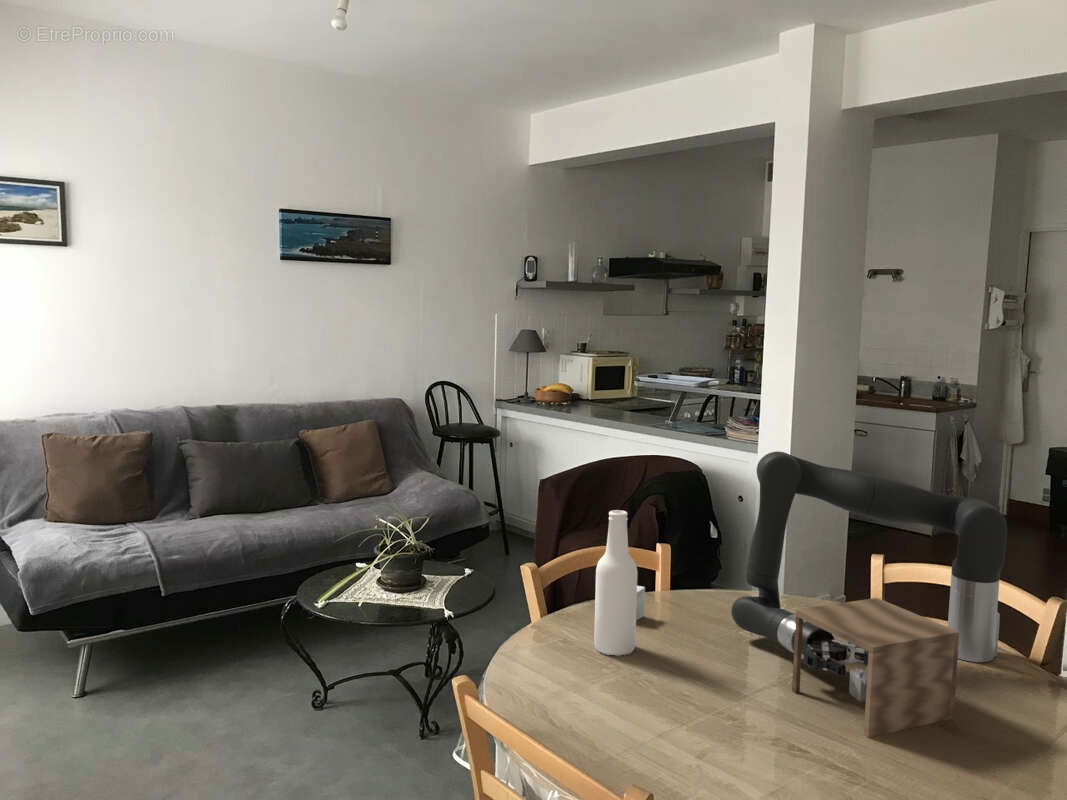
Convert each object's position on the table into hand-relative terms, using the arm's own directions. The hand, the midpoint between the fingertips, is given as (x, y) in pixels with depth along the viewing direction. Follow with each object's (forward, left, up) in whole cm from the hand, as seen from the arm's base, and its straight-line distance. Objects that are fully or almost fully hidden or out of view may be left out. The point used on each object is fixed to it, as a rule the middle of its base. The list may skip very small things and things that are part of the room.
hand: (862, 668), depth 170 cm
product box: (+20, -54, -6) cm, 58 cm away
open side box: (0, +3, -6) cm, 6 cm away
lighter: (0, +1, -6) cm, 6 cm away
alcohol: (+32, -38, -6) cm, 50 cm away
